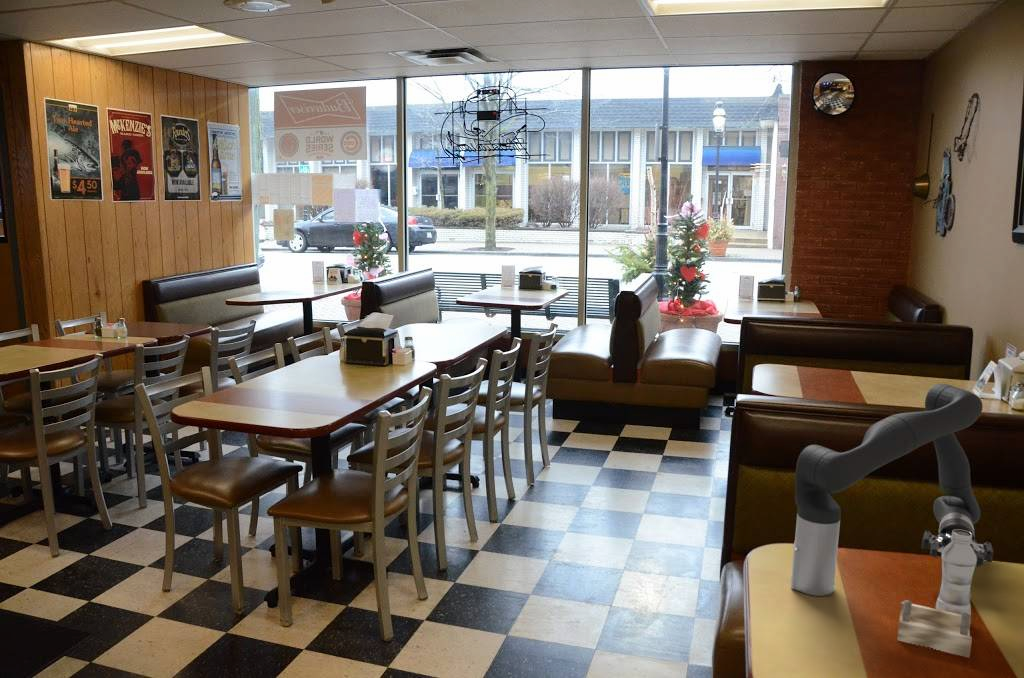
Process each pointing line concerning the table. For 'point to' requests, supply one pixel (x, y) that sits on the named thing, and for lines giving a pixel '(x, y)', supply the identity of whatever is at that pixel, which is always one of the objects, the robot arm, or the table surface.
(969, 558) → the plastic bottle
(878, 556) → the table surface
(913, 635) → the caddy
